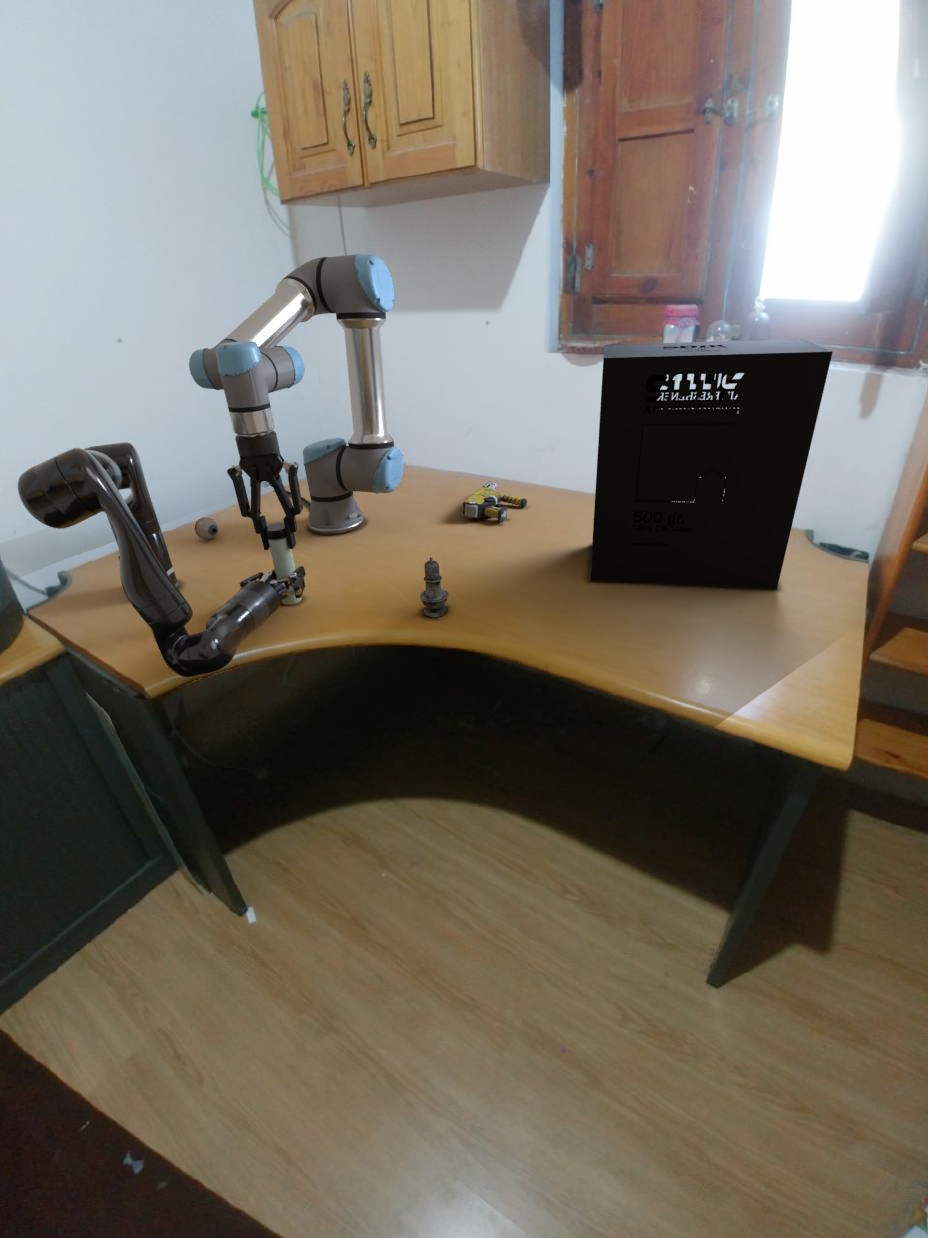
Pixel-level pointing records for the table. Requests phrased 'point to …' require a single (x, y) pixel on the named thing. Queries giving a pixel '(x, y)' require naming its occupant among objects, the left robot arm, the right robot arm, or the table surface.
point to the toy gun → (489, 503)
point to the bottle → (283, 563)
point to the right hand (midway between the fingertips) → (280, 546)
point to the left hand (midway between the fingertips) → (292, 569)
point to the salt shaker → (433, 591)
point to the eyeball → (206, 528)
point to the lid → (275, 531)
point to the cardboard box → (703, 460)
